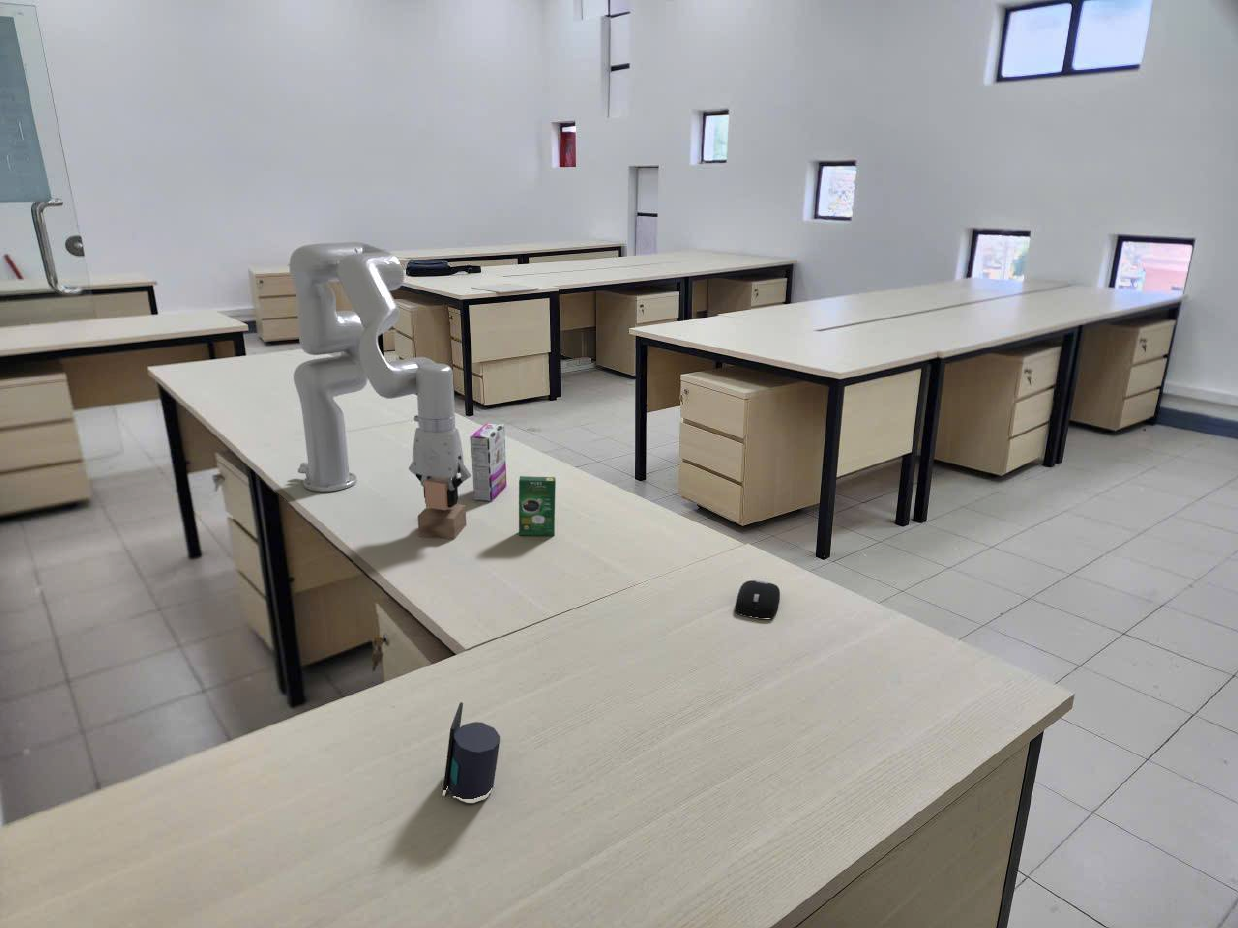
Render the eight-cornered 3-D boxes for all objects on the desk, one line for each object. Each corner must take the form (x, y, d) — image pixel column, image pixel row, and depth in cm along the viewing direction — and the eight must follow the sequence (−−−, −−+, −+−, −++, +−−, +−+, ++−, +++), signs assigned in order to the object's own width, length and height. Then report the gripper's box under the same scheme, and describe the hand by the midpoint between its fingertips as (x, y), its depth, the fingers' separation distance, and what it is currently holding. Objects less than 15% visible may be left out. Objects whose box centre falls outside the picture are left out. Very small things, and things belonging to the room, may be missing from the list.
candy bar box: (488, 484, 207) (486, 422, 202) (507, 486, 206) (505, 424, 201) (472, 500, 197) (469, 435, 192) (491, 502, 196) (489, 437, 191)
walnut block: (418, 537, 177) (417, 516, 175) (432, 523, 184) (430, 502, 183) (454, 540, 176) (453, 518, 174) (466, 525, 183) (465, 505, 182)
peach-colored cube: (425, 507, 177) (424, 480, 175) (437, 499, 181) (436, 473, 179) (445, 510, 175) (444, 484, 173) (456, 502, 179) (455, 476, 177)
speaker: (426, 793, 103) (431, 724, 100) (452, 766, 108) (458, 700, 105) (478, 816, 100) (485, 746, 97) (502, 788, 106) (509, 720, 102)
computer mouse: (783, 593, 156) (785, 574, 155) (773, 623, 145) (775, 603, 144) (744, 586, 158) (746, 568, 157) (731, 615, 148) (733, 596, 146)
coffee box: (556, 531, 181) (556, 475, 177) (555, 536, 178) (555, 480, 174) (519, 531, 181) (518, 475, 176) (518, 536, 178) (517, 479, 173)
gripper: (391, 423, 171) (397, 504, 177) (464, 432, 166) (467, 515, 172) (411, 414, 178) (416, 492, 184) (481, 423, 173) (484, 503, 179)
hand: (441, 502), depth 178 cm, fingers closed on peach-colored cube, 4 cm apart
